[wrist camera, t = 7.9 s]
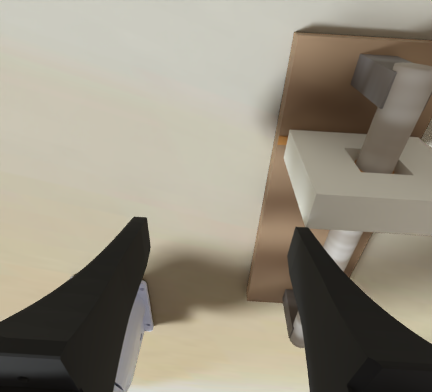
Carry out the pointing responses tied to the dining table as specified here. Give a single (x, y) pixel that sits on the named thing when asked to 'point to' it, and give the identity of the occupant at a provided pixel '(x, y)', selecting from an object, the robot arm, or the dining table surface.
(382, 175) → the collar
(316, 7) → the dining table surface
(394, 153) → the slider rail
